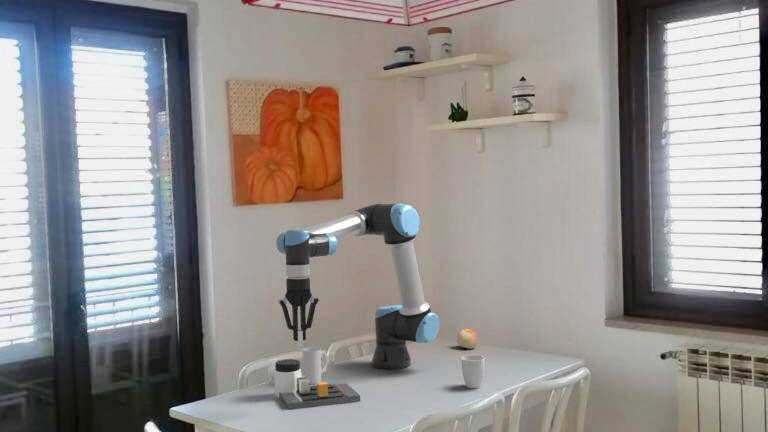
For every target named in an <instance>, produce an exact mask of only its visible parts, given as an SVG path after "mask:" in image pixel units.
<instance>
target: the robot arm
mask: <svg viewBox="0 0 768 432" xmlns="http://www.w3.org/2000/svg"><path fill="white" fill-rule="evenodd" d="M420 222H421V221H420V217H419V214H418V211H416V209H415V208H414V207H413V206H411V205H410V204H403V203H375V204H371V205H368V206H364V207H360V208H359V209H358V208H357V209H355V210H352V211H350V212H349V213H347V215H345V216H342V217H338V218H335V219H332V220H329V221H326V222H322V223H318V224H316V225H312V226H309V227H305V228H294V229H292V228H291V229H288V230H286V232H285V231H284V232H281V233H280V234H279V235H277V238H276V240H275V241H276V244H275V245H276V249H277V250H278V252H279V253H281V254H283V255H285V270H286V271H285V273H286V275H285V276H286V277H287V278H286V280H285V281H286V284H285V285H286V292H285V295H284V297H283V298H282V299H279V300H278V304H279V305H280V306H281V308H282V309H281V310H282V312H283V316H284V320H285V325H286V328H287V329H288V330H290V331H291V330H292V332H293V333H292V334H293V336H292V337H293V340H294V342H296V351H297V352H302V351H303V349H304V341H305V340H306V339H307V337H306V336H307V335H306V333H307V332H306V331H307V330H308V329H310V328H312V325H313V321H314V315H315V310H316V306H317V304H318V303H319V301H320V299H319V298H318V297H316V296H314V295H313V294H312V292H311V279H310V274H311V270H310V258H317V257H318V258H319V257H327V256H331V255H334V254H335V253H336V252H337V250H338V241H341V240H343V239H346V238H350V237H353V236H354V237H361V236H367V235H368V236H370V235H371V236H372V235H374V236H383V240H384V244H385V245H386V246H388V247H389V248H390V253H391V258H392V263H393V267H394V272H395V277H396V282H397V286H398V292H399V297H400V301H401V304H392V305H385V306H380V307H378V308H377V309H375V317H374V319H375V321H374V322H375V324H374V325H375V348H374V352H373V356H372V357H371V366H372V367H373V368H376V369H382V370H383V369H384V370H397V369H403V368H408V367H410V366H412V360H411V359H412V358H411V355H410V352H409V350H408V347H407V342H410V343H411V342H412V343H418V344H429V343H431V342H433V341H434V340H435V338H436V337H437V336H438V333H439V331H440V318H439V316H438V314H436V313H435V312H432V311H431V306H430V304H429V303H428V302H427V301H425V295H424V291H423V286H422V281H421V277H420V271H419V267H418V262H417V257H416V251H415V246H414V241H415V240H416V238H417V234H418V232H419V229H420V226H421V224H420ZM309 301H310V305H309V309H308V314H307V313H306V310H307V309H306V307H307V304H308V302H309ZM288 303H289V304H290V305H291V310H292V311H291V312H292V313H291V314H292V316H291V317H292V321H291V318H290V314H289V310H288V306H287V304H288ZM299 310H300V311H299ZM298 311H299V312H298ZM299 313H300V315H299ZM306 314H307V319H306ZM298 315H299V316H300V318H299V316H298ZM299 319H300V329H299Z"/></svg>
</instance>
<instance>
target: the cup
mask: <svg viewBox="0 0 768 432" xmlns="http://www.w3.org/2000/svg"><path fill="white" fill-rule="evenodd" d="M460 361H461V371H462V377H463V381H464V385H465V387H466V388H469V389H479V388H482V383H483V380H484V375H485V366H486V364H485V362H486V359H485V356H482V355H477V354H472V355H471V354H470V355H469V354H468V355H463V356H461V358H460Z"/></svg>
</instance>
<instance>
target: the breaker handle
mask: <svg viewBox="0 0 768 432" xmlns="http://www.w3.org/2000/svg"><path fill="white" fill-rule="evenodd" d="M328 384H329V383H328V382H326V381H323V382H322V381H321V382H319V383H317V384H316V386H317V395H318V396H319V397H325V396H328Z"/></svg>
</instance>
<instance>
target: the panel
mask: <svg viewBox="0 0 768 432" xmlns="http://www.w3.org/2000/svg"><path fill="white" fill-rule="evenodd" d="M327 384H328V396H325V397H319V396H318V395H317V385H311V384H310V381H309V380H308V379H306V376H305V375H303V374H301V376H300V377H298V378H297V391H296V392H292V393H280V392H279V398H278V399H279V400H280V401H281V402H282V404H283V405H284V406H285V408H286V409H287V411H288V410H297V409H305V408H315V407H321V406H332V405H339V404H340V405H341V404H348V403H349V404H351V403H358V402H361V395H360V393H359V392H357V391H356V389H355V390H354V389H353V388H352V387H351V386H350V385H349V384H348V383H337V384H336V383H333V384H332V383H331V384H330V383H327Z"/></svg>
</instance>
